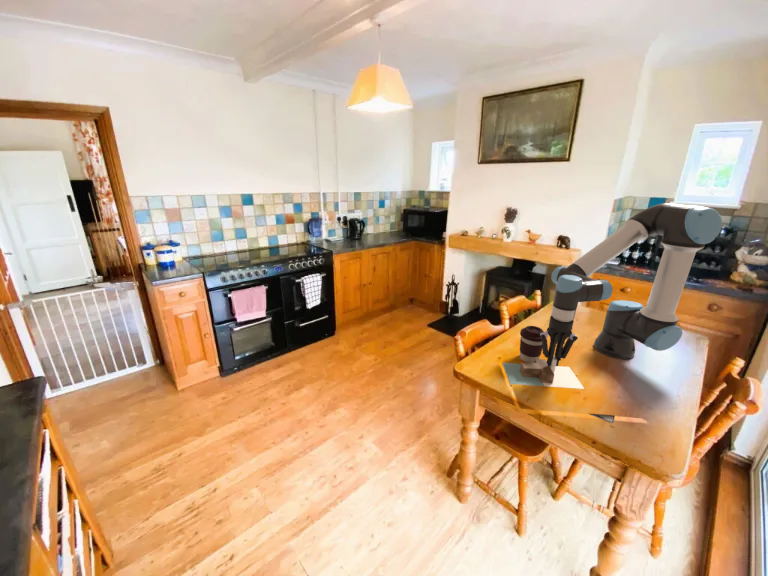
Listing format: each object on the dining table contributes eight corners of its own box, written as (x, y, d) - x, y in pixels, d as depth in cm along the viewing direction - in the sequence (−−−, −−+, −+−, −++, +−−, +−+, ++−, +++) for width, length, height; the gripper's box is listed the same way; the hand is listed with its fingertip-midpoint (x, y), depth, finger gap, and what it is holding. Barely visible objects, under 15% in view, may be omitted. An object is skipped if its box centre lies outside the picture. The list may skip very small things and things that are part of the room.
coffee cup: (544, 368, 132) (550, 336, 127) (518, 365, 134) (523, 334, 128) (538, 355, 141) (544, 324, 136) (514, 353, 143) (519, 322, 138)
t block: (543, 367, 130) (545, 359, 129) (552, 383, 121) (554, 374, 120) (517, 366, 132) (519, 358, 130) (524, 381, 122) (526, 372, 121)
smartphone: (618, 398, 114) (613, 422, 104) (617, 400, 115) (612, 424, 104) (594, 390, 119) (586, 412, 108) (593, 391, 119) (586, 414, 108)
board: (568, 369, 131) (569, 366, 131) (584, 391, 118) (584, 388, 118) (502, 365, 134) (502, 362, 134) (510, 386, 121) (511, 383, 121)
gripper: (576, 313, 119) (564, 367, 128) (539, 312, 121) (530, 365, 129) (586, 323, 112) (572, 379, 121) (546, 321, 114) (536, 377, 122)
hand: (550, 372), depth 125 cm, fingers closed
